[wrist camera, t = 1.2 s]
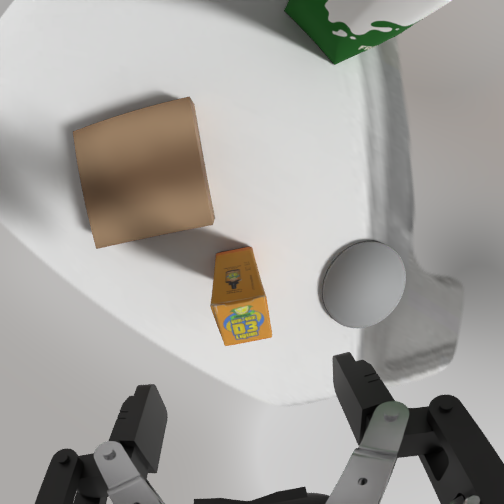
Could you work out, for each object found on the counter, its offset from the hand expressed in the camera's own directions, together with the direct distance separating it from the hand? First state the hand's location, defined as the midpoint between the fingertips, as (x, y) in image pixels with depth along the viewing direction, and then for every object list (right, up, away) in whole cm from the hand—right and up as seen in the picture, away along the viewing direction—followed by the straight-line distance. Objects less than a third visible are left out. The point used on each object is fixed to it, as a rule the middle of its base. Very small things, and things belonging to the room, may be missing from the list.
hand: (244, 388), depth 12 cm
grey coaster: (+11, +3, +16) cm, 20 cm away
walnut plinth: (-9, +13, +12) cm, 19 cm away
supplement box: (-1, +5, +15) cm, 16 cm away
